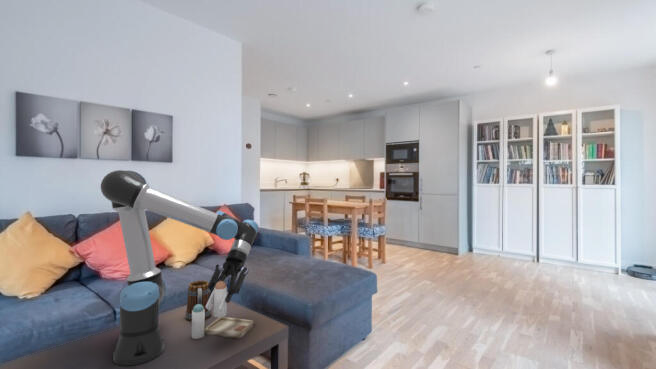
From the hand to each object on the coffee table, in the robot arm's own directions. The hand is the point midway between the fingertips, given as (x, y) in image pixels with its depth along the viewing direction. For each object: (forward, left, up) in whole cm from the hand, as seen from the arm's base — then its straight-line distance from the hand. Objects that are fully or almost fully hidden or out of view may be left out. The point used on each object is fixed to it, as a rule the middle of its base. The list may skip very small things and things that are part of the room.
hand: (214, 309), depth 112 cm
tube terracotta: (0, +4, -3) cm, 5 cm away
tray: (-3, +16, -15) cm, 22 cm away
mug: (-21, +21, -15) cm, 33 cm away
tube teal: (-12, +8, -15) cm, 20 cm away
